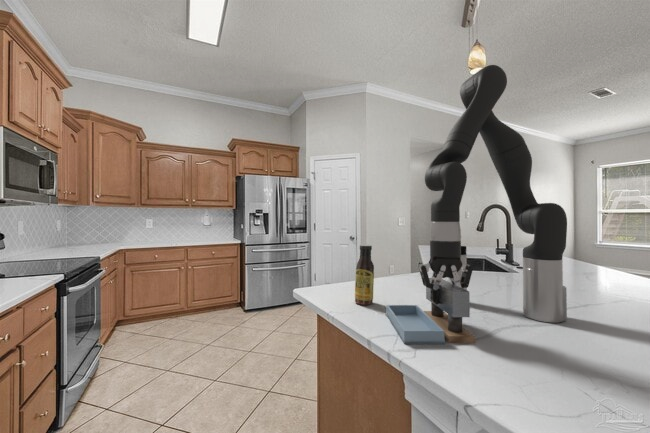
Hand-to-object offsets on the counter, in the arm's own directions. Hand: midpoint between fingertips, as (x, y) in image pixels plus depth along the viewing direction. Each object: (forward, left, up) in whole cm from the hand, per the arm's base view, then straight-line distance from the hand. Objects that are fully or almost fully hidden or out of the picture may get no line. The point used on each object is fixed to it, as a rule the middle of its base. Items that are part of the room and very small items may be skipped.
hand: (445, 303), depth 74 cm
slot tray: (+9, 0, -6) cm, 11 cm away
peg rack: (0, 0, -6) cm, 6 cm away
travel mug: (-14, -23, -7) cm, 27 cm away
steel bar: (0, 0, -1) cm, 1 cm away
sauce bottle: (+18, -22, -7) cm, 30 cm away
